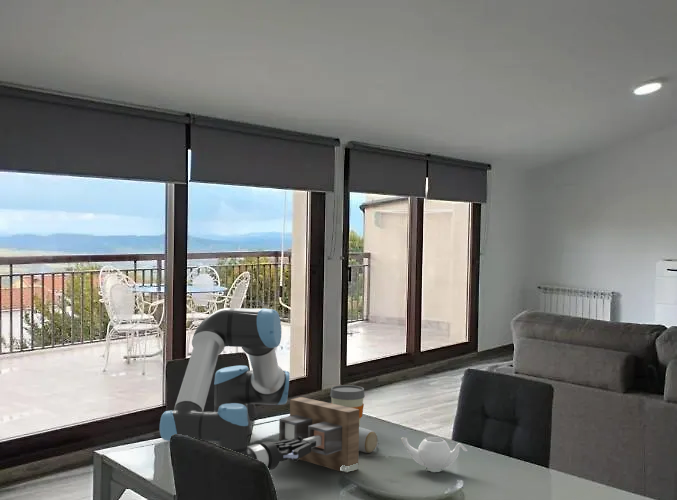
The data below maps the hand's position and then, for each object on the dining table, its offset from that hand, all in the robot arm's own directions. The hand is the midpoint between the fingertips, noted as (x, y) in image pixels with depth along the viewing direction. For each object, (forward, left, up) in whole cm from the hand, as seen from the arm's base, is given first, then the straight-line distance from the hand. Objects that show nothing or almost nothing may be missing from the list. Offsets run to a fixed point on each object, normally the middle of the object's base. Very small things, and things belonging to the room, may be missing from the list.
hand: (319, 439), depth 201 cm
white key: (-12, +2, -2) cm, 12 cm away
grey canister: (-5, +28, -10) cm, 30 cm away
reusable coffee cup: (-25, +43, -10) cm, 51 cm away
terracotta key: (0, +2, -2) cm, 3 cm away
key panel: (-6, +5, -10) cm, 13 cm away
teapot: (+23, +26, -10) cm, 36 cm away
